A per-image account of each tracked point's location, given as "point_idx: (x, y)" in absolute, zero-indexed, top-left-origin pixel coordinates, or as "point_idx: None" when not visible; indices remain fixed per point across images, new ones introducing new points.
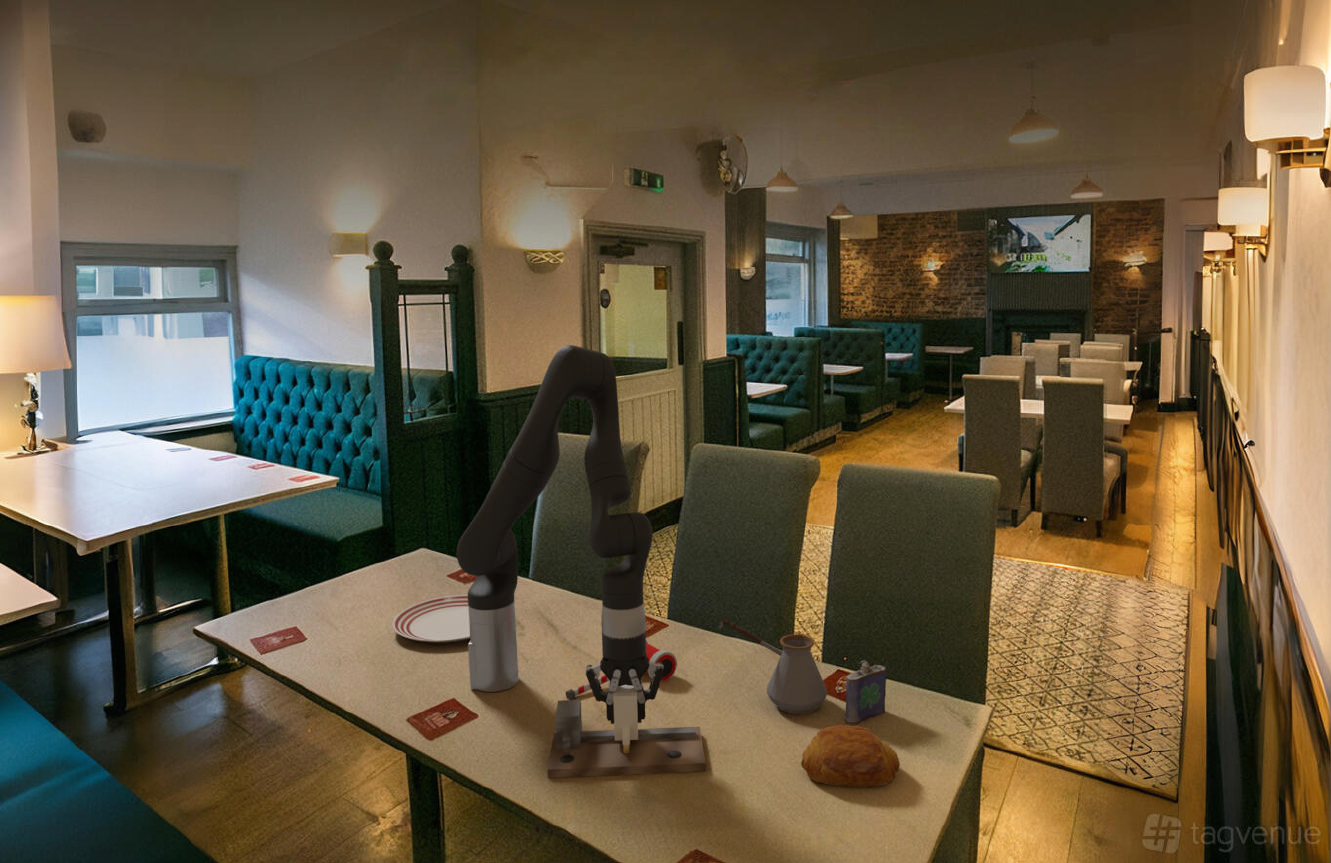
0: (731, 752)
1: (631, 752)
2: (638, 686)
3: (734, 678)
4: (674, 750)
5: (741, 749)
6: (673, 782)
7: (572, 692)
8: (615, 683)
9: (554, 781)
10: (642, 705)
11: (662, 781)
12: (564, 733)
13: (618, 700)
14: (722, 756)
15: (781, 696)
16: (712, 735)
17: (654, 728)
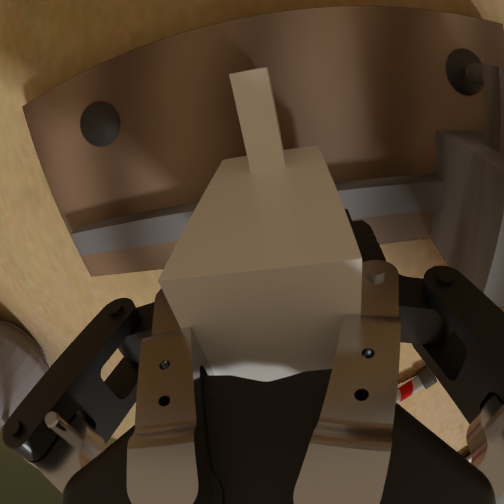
0: (20, 197)
1: None
2: (154, 360)
3: (131, 410)
4: (104, 145)
5: (11, 211)
6: (97, 22)
7: (425, 381)
8: (353, 381)
9: (467, 3)
10: None
11: (126, 15)
12: None
13: (314, 243)
14: (27, 176)
15: (3, 345)
16: (75, 260)
17: None
